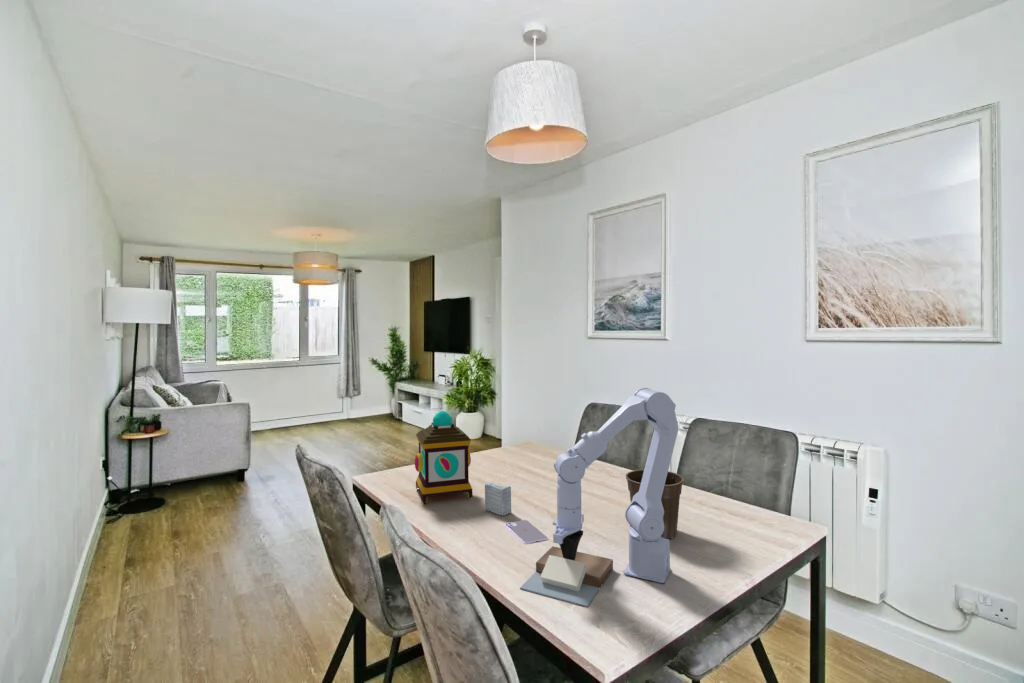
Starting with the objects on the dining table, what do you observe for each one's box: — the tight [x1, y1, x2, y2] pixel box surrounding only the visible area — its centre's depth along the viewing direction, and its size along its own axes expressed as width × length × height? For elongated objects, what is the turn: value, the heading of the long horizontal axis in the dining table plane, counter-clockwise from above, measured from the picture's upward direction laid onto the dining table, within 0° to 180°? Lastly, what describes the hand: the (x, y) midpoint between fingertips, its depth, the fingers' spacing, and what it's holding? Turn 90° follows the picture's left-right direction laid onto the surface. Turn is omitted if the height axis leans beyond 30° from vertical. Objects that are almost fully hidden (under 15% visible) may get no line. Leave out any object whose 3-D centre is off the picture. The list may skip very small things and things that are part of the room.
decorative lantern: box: [414, 410, 473, 504], centre depth 177 cm, size 20×20×30 cm
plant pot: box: [624, 468, 685, 540], centre depth 143 cm, size 16×16×16 cm
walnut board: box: [535, 545, 614, 589], centre depth 121 cm, size 16×10×2 cm, turn 62°
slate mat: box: [519, 571, 601, 608], centre depth 112 cm, size 16×8×1 cm, turn 62°
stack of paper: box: [484, 481, 512, 517], centre depth 160 cm, size 8×4×9 cm, turn 47°
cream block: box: [540, 555, 587, 592], centre depth 114 cm, size 9×6×2 cm
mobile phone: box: [504, 519, 548, 545], centre depth 144 cm, size 8×1×15 cm
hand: (569, 562), depth 118 cm, fingers closed
